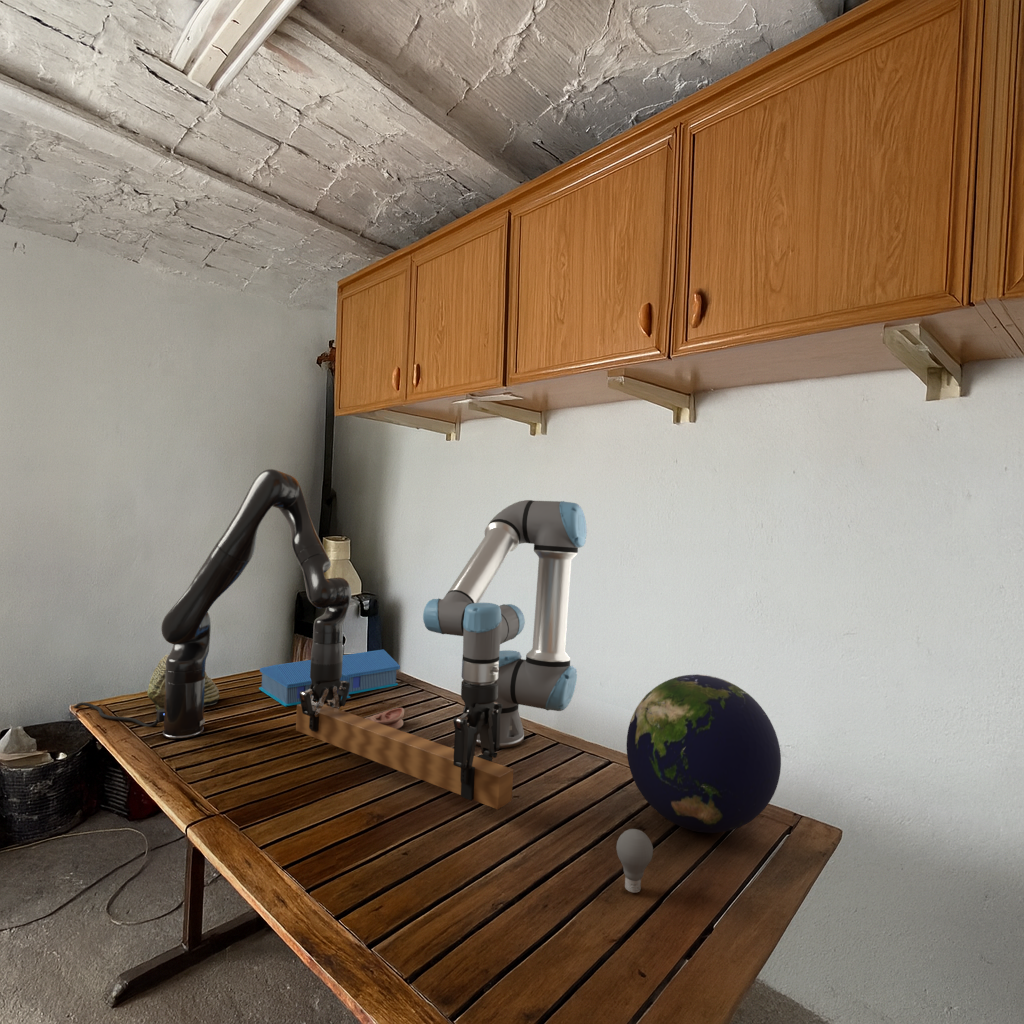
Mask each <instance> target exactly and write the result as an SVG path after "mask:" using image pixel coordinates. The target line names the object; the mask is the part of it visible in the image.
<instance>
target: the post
mask: <svg viewBox="0 0 1024 1024" xmlns="http://www.w3.org/2000/svg"><path fill="white" fill-rule="evenodd" d="M316 702H317V703H319V701H316ZM315 709H316V707H315ZM314 711H315V710H314ZM365 718H366V717H362V716H360V715H356V714H354V713H352V712H351V713H350V712H348V711H345V710H342V709H336V708H333V707H330V706H329V704H328V705H327V704H325V703H324V705H323V707H322V708H321V709H320V713H319V728H318V731H317V732H314V731H311V729H310V728H309V720H310V716H308V715H305V714H303V713H302V707H301V704H297V705H296V717H295V731H296V732H299V733H301V734H304V735H306V736H309V737H312V738H314V739H317V740H320V741H321V742H325V743H327V744H329V745H332V746H335V747H337V748H339V749H342V750H345V751H347V752H350V753H352V754H355V755H357V756H360V757H362V758H365V759H368V760H370V761H372V762H375V763H378V764H380V765H382V766H385V767H388V768H390V769H393V770H396V771H398V772H400V773H403V774H406V775H408V776H411V777H413V778H416V779H419V780H421V781H424V782H425V783H428V784H431V785H434V786H436V787H438V788H442V789H444V790H447V791H449V792H452V793H455V794H457V795H459V796H461V781H460V778H461V768H460V767H457V766H455V765H454V764H453V762H454V747H450V746H447V745H444V744H441V743H438V742H435V741H433V740H430V739H427V738H424V737H421V736H418V735H414V734H411V733H409V732H406V731H404V730H400V729H399V728H398V729H395V728H392V727H389V726H386V725H383V724H380V723H377V722H374V721H371V720H368V719H365ZM472 766H473V767H475V776H474V799H473V800H472V801H474V802H476V803H480V804H483V805H485V806H487V807H490V808H492V809H494V810H497V811H498V810H500V809H501V808H503V807H504V806H506V805H508V804H509V803H511V802H512V801H513V783H514V782H513V781H514V769H513V768H511V767H508V766H505V765H502V764H499V763H496V762H494V761H492V762H491V761H488V760H485V759H482V758H479V756H477V755H474V758H473V764H472Z"/></svg>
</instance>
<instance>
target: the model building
mask: <svg viewBox="0 0 1024 1024" xmlns="http://www.w3.org/2000/svg"><path fill="white" fill-rule="evenodd" d="M310 668H311V659H307V660H300V661H293V662H287V663H278V664H272V665H268V666H264V667H263V666H262V667H260V668H259V672H260V673H261V686H260V687H258V690H260V691H261V692H262V693H264V694H265V695H267V696H268V697H270V698H271V699H273V700H274V701H276V702H277V703H279V704H280V705H282V706H283V707H290V706H297V705H298V704H301V701H300V695H299V693H300V692H301V691H304V692H305V691H307V690H308V689H310V686H311V683H312V682H311V678H310ZM400 669H401V665H400V664H399V663H398V662H397V661H396V660H395V659H394V658H393V657H392V656H391V654H389V653H388V652H387V651H386V650H385V649H376V650H368V651H363V652H356V653H349V654H343V662H342V677H341V678H340V681H346V682H349V683H350V686H349V691H348V695H347V699H350V698H351V695H353V694H359V693H364V692H365V693H366V692H369V691H373V690H381V689H385V688H390V687H391V688H392V687H395V686H399V683H398V682H397V670H400ZM337 693H338V691H337ZM311 697H312V695H311ZM341 700H342V697H341ZM316 702H318V701H317V700H316Z"/></svg>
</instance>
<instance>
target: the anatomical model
mask: <svg viewBox="0 0 1024 1024" xmlns="http://www.w3.org/2000/svg"><path fill="white" fill-rule="evenodd" d="M404 715H405V709H404V708H403V707H396V708H392V709H389V710H385V711H382V712H379V713H376V714H374V715H371V716H366V717H364V718H365V719H368V720H371V721H374V722H377V723H380V724H383V725H386V726H389V727H392V728H395V729H398V730H399V729H400V728H402V727H403V726H404V720H403V719H402V718H403V717H405V716H404Z"/></svg>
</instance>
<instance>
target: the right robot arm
mask: <svg viewBox="0 0 1024 1024" xmlns="http://www.w3.org/2000/svg"><path fill="white" fill-rule="evenodd" d="M587 531H588V530H587V521H586V516H585V513H584V510H583V508H582V507H581V506H580V504H578V503H577V502H571V501H564V500H561V501H560V500H559V501H558V500H532V499H525V500H519V501H517V502H514V503H512V504H510V505H508V506H506V507H505V508H503V509H502V510H501V511H500V512H498V513H497V514H496V515H495V516H494V517H493V518H492V519H491V520H490V521H489V522H488V524H487V525H486V527H485V529H484V537H483V538H482V540H481V542H480V543H479V545H478V546H477V548H476V549H475V550H474V552H473V554H472V555H471V557H470V558H469V559H468V561H467V562H466V564H465V566H464V567H463V569H462V570H461V572H460V573H459V574H458V576H457V577H456V579H455V580H454V582H453V583H452V585H451V587H450V588H449V590H448V591H447V592H446V594H445V595H444V597H443V598H439V597H438V598H432V599H430V600H429V601H428V602H427V603H426V604H425V606H424V609H423V615H422V620H423V621H422V622H423V624H424V627H425V628H426V630H427V631H429V632H433V633H436V634H440V635H450V636H456V637H457V636H458V637H462V659H461V675H460V676H461V679H462V681H461V686H460V687H461V688H460V698H461V700H462V701H463V702H464V707H463V711H462V714H461V715H460V716H454V718H453V720H452V721H453V726H454V741H453V743H454V744H453V749H454V762H453V764H454V765H455V766H457V767H460V768H461V778H460V781H461V795H460V797H461V798H463V799H466V800H468V801H474V800H473V799H474V776H475V767H473V766H472V764H473V758H474V756H475V751H476V747H477V746H478V747H480V748H481V754H479V755H478V757H479V758H482V759H485V760H488V761H491V762H493V759H494V758H497V757H498V751H499V750H500V749H509V748H513V747H517V746H519V745H521V744H522V743H523V742H524V739H525V731H524V726H523V722H522V720H521V715H520V712H519V705H520V706H526V707H531V708H536V709H541V710H545V711H555V712H563V711H565V710H566V709H567V708H568V706H569V705H570V703H571V701H572V699H573V696H574V693H575V690H576V685H577V680H578V671H577V668H576V667H574V666H573V665H571V657H570V656H569V654H568V653H567V652H566V646H567V645H566V643H567V628H568V614H569V602H570V601H569V599H570V584H571V572H572V561H573V559H574V558H575V557H576V556H577V555H578V554H579V553H578V552H579V549H580V548H583V547H584V546H585V544H586V539H587V533H588V532H587ZM520 544H532V545H533V552H534V554H536V556H537V557H538V563H537V565H538V566H537V579H536V580H537V581H536V592H535V593H536V595H535V605H534V606H535V609H534V619H533V620H534V621H533V624H534V625H533V637H532V648H531V649H530V650H529V651H528V652H527V653H526V655H525V659H523V658H522V654H521V652H520V651H517V650H505V649H504V650H500V649H501V645H502V644H504V643H506V642H509V641H511V640H513V639H515V638H516V637H517V636H519V635H520V634H521V633H522V632H523V630H524V628H525V625H526V619H525V615H524V613H523V611H522V610H521V609H520V608H519V607H518V606H517V605H515V604H512V603H506V604H504V603H503V604H500V605H498V604H496V603H492V602H481V600H482V598H483V597H484V595H485V593H486V592H487V590H488V589H489V587H490V585H491V583H492V582H493V580H494V579H495V577H496V575H497V573H498V571H499V570H500V568H501V567H502V565H503V563H504V562H505V560H506V558H507V557H508V555H509V553H510V552H513V551H515V550H516V549H517V547H518V546H519V545H520Z"/></svg>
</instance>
